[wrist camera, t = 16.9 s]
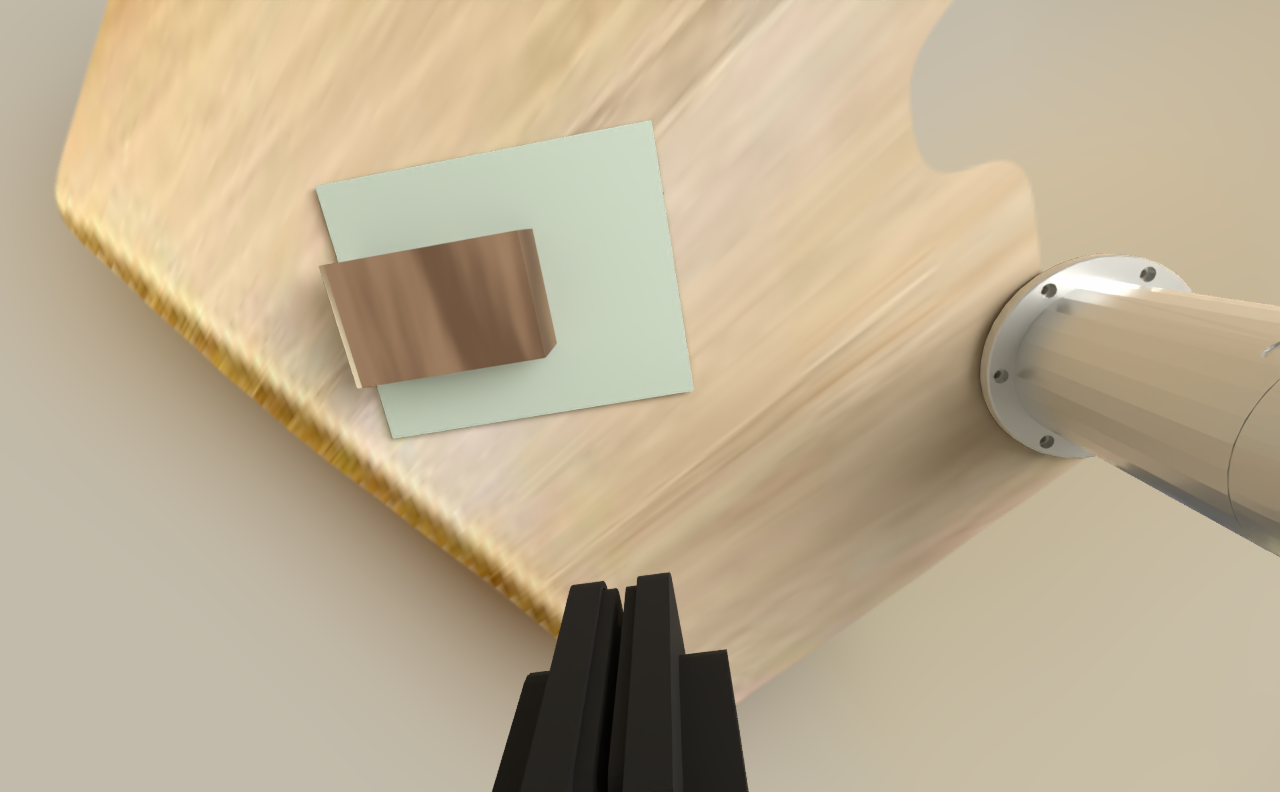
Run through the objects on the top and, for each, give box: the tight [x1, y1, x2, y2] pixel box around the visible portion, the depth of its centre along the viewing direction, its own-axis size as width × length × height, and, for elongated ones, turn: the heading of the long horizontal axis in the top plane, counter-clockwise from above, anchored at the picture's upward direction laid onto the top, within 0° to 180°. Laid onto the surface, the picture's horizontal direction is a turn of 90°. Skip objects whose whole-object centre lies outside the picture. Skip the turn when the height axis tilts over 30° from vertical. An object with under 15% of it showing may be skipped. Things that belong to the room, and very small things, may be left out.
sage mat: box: [315, 120, 694, 439], centre depth 37 cm, size 20×16×1 cm
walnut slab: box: [319, 229, 557, 389], centre depth 35 cm, size 4×7×11 cm
